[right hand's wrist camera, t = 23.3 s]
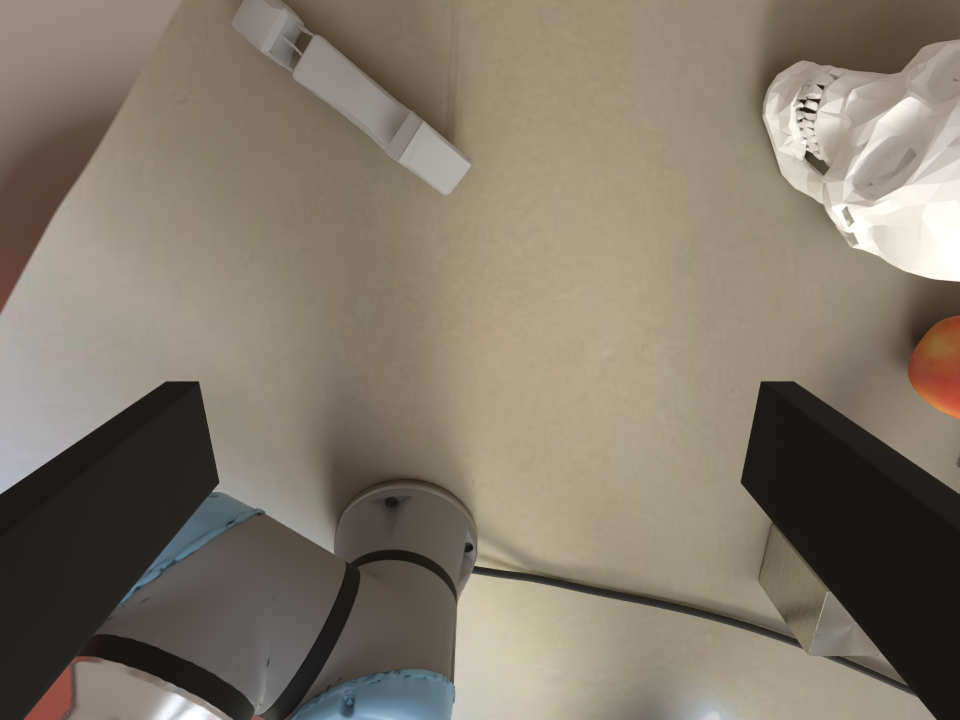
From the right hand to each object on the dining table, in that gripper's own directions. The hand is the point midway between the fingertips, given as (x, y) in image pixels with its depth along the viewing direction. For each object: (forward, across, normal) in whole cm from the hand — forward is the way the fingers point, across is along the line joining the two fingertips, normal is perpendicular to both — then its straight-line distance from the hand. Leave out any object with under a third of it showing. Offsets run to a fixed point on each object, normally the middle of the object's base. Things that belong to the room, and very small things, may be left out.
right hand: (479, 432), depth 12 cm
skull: (+36, +32, +7) cm, 49 cm away
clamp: (+36, -10, +11) cm, 39 cm away
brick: (+36, +35, -34) cm, 61 cm away
